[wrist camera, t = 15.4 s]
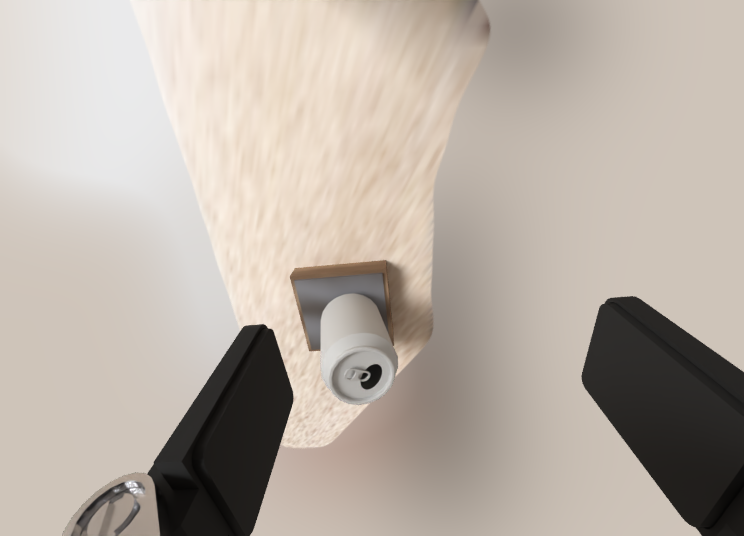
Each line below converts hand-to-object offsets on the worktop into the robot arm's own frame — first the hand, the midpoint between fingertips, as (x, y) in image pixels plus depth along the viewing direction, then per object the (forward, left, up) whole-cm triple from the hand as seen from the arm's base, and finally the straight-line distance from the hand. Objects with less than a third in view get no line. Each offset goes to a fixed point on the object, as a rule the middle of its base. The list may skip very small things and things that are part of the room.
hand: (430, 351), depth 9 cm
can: (+16, -7, -25) cm, 30 cm away
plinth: (+16, -8, -29) cm, 34 cm away
